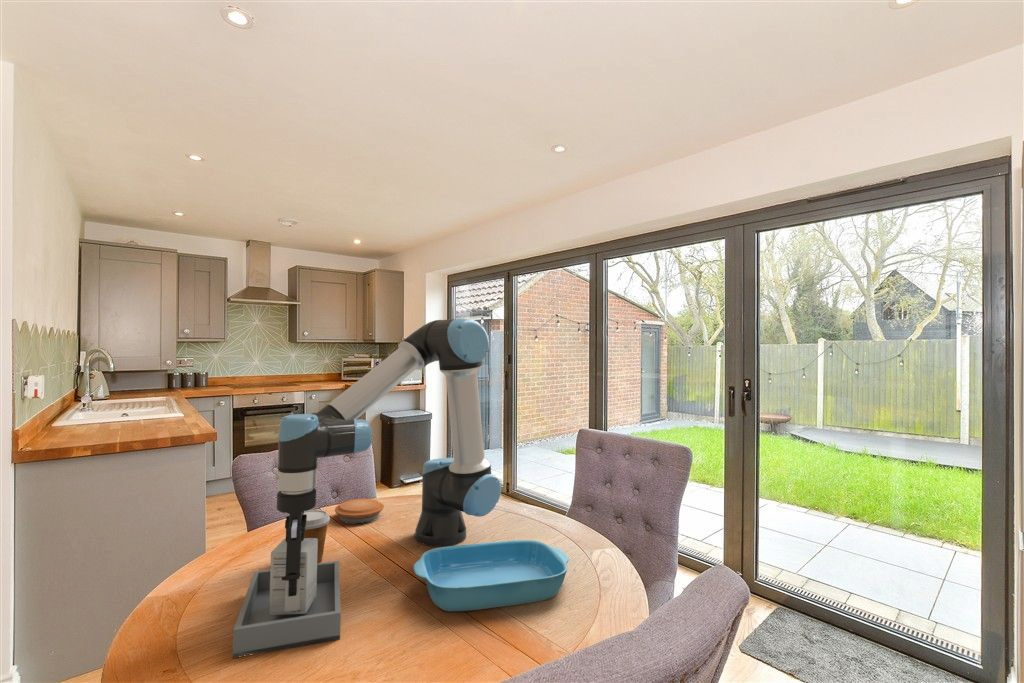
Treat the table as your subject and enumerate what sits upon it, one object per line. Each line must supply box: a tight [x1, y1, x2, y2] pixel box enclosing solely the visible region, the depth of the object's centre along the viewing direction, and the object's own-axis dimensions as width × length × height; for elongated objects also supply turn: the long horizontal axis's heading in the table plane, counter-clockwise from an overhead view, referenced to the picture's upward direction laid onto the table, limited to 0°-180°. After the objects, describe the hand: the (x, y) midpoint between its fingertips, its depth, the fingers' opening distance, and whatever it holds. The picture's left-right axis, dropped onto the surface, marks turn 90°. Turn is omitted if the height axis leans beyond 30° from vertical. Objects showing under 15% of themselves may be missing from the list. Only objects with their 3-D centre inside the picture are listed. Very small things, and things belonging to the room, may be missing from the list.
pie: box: [334, 498, 385, 524], centre depth 158 cm, size 16×16×5 cm
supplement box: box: [269, 538, 318, 615], centre depth 100 cm, size 7×7×13 cm
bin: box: [232, 560, 342, 659], centre depth 100 cm, size 18×24×5 cm
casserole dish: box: [413, 539, 570, 612], centre depth 112 cm, size 37×22×7 cm, turn 108°
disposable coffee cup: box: [304, 509, 331, 563], centre depth 125 cm, size 10×10×12 cm
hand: (293, 598), depth 100 cm, fingers closed on supplement box, 8 cm apart
